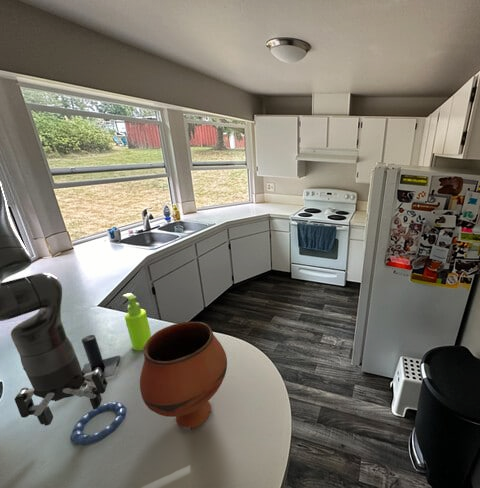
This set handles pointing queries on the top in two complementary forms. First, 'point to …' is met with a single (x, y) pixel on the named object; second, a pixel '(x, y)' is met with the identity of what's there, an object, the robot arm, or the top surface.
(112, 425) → the ring
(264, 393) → the top surface
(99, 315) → the top surface
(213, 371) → the goblet
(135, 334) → the soap dispenser
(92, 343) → the ring toss peg
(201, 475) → the top surface
